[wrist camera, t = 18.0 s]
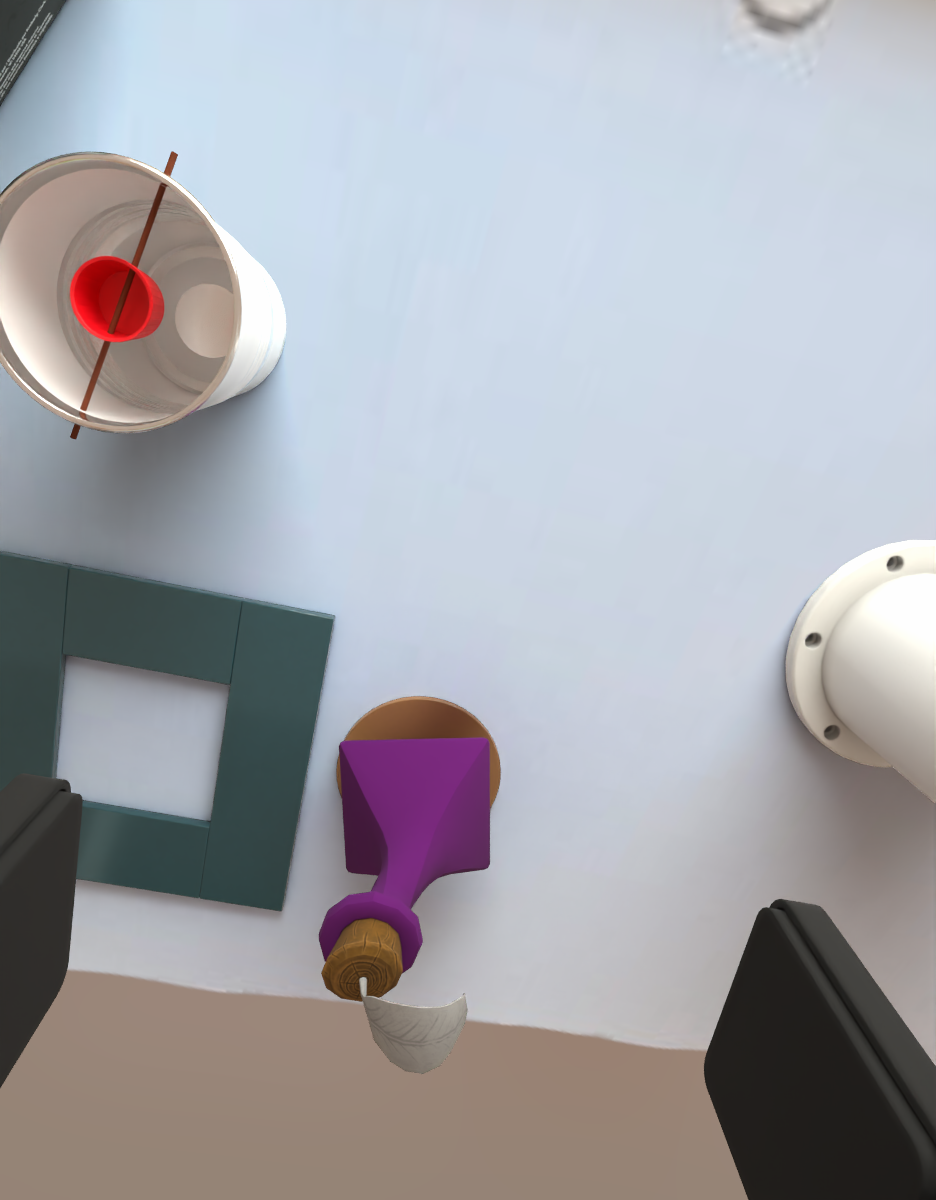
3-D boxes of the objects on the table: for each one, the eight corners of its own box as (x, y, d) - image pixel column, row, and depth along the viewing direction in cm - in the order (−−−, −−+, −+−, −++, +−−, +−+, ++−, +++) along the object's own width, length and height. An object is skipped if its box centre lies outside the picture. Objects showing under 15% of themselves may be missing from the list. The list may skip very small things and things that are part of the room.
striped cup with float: (256, 458, 39) (178, 496, 27) (88, 378, 37) (-69, 382, 26) (338, 262, 36) (291, 211, 25) (162, 169, 35) (26, 70, 23)
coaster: (516, 712, 43) (517, 715, 42) (480, 854, 45) (481, 858, 45) (352, 681, 42) (351, 684, 42) (324, 827, 44) (323, 831, 44)
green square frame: (335, 615, 41) (334, 618, 40) (283, 905, 46) (281, 912, 45) (-23, 545, 39) (-30, 548, 39) (-38, 853, 44) (-44, 860, 44)
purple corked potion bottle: (352, 836, 44) (296, 1136, 27) (346, 714, 42) (280, 953, 25) (486, 833, 44) (515, 1128, 27) (486, 711, 42) (517, 946, 25)
